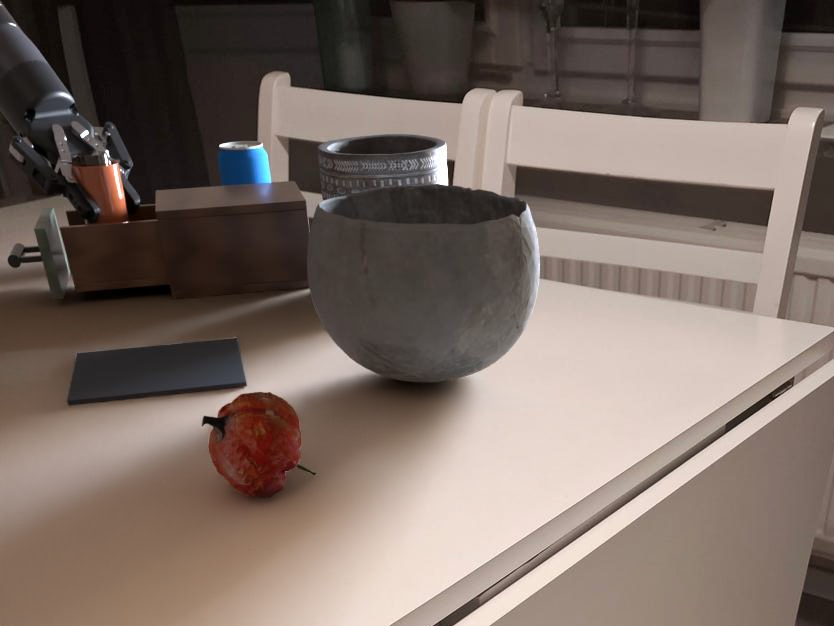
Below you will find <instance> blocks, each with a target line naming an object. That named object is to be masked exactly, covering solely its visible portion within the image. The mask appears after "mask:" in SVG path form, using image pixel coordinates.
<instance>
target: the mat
mask: <svg viewBox="0 0 834 626" xmlns="http://www.w3.org/2000/svg"><path fill="white" fill-rule="evenodd" d="M75 354H76V355H75V359H74V364H73V370H72V375H71V379H70V384H69V389H68V395H67V398H66V399H67V400H66V403H67V405H69V406H71V405H82V404H88V403H89V404H90V403H98V402H99V403H101V402H108V401H119V400H120V401H121V400H128V399H129V400H130V399H136V398H147V397H155V396H156V397H157V396H165V395H167V396H168V395H176V394H186V393H193V392H195V393H196V392H204V391H205V392H206V391H213V390H222V389H224V390H225V389H232V388H243V387H247V386H248V383H247V378H246V373H245V369H244V364H243V359H242V354H241V348H240V343H239V339H238V337H231V338H229V337H228V338H218V339H209V340H200V341H199V340H195V341H189V342H188V341H187V342H177V343H167V344H157V345H145V346H135V347H125V348H124V347H123V348H114V349H105V350H94V351H93V350H92V351H84V352H76V353H75Z"/></svg>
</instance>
